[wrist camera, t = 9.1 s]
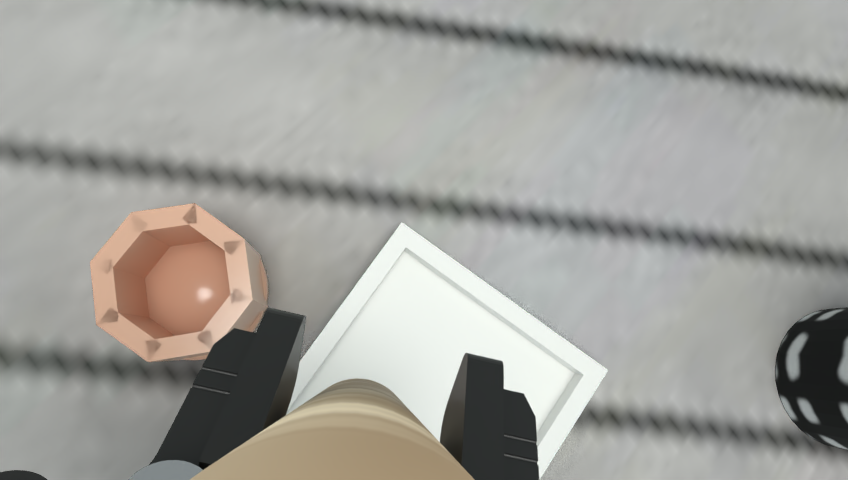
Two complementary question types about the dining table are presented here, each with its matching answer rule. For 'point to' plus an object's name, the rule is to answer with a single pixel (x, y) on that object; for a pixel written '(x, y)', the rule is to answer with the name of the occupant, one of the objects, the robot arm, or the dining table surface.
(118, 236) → the holder cup
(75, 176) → the dining table surface
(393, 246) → the tray
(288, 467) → the wooden pin
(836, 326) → the spotted tube
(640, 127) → the dining table surface
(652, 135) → the dining table surface
